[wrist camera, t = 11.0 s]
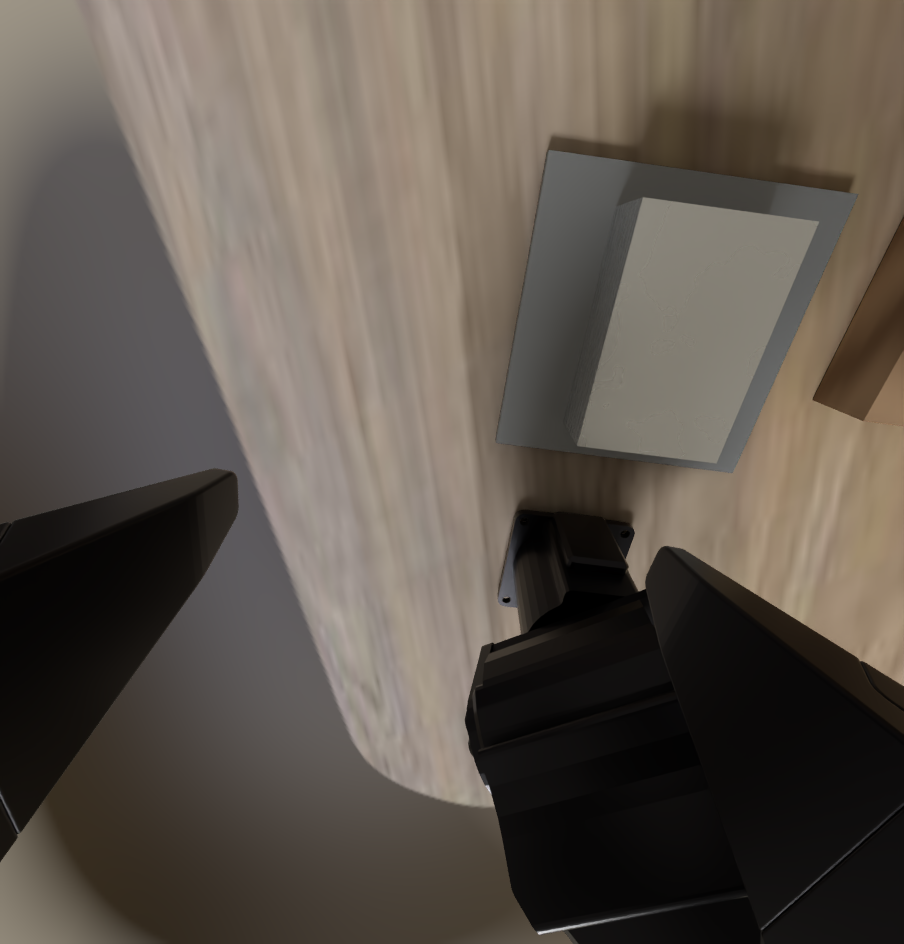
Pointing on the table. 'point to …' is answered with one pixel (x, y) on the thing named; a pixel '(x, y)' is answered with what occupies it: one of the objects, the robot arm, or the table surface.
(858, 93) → the table surface
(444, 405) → the table surface
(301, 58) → the table surface
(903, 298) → the plane body
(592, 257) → the rubber mat
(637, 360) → the lever cap
